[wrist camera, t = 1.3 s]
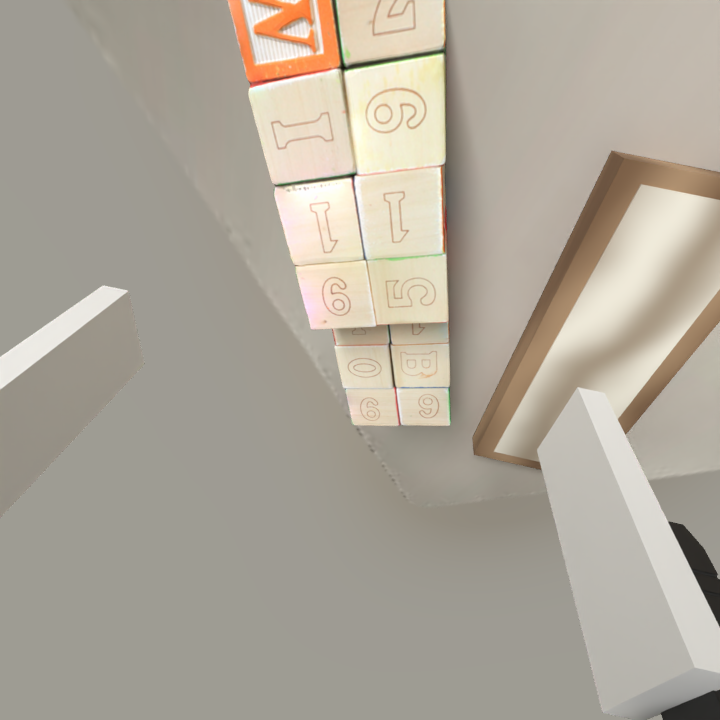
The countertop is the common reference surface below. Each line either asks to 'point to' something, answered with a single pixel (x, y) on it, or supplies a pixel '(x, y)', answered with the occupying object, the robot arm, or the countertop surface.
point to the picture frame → (614, 304)
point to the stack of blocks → (361, 186)
